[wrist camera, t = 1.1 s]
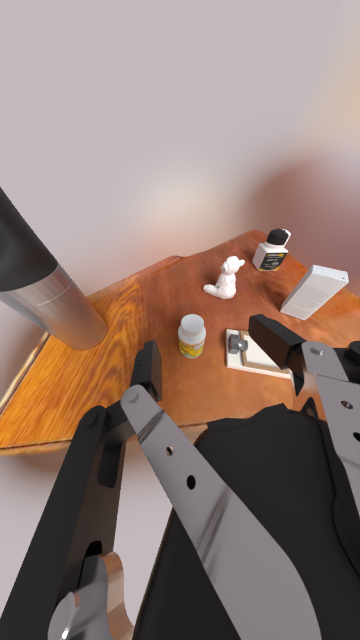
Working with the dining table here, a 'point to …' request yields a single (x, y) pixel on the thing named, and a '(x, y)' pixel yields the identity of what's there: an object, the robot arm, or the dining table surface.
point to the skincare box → (313, 291)
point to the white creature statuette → (225, 279)
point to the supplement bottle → (191, 336)
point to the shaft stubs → (236, 344)
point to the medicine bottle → (271, 251)
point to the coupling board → (253, 358)
